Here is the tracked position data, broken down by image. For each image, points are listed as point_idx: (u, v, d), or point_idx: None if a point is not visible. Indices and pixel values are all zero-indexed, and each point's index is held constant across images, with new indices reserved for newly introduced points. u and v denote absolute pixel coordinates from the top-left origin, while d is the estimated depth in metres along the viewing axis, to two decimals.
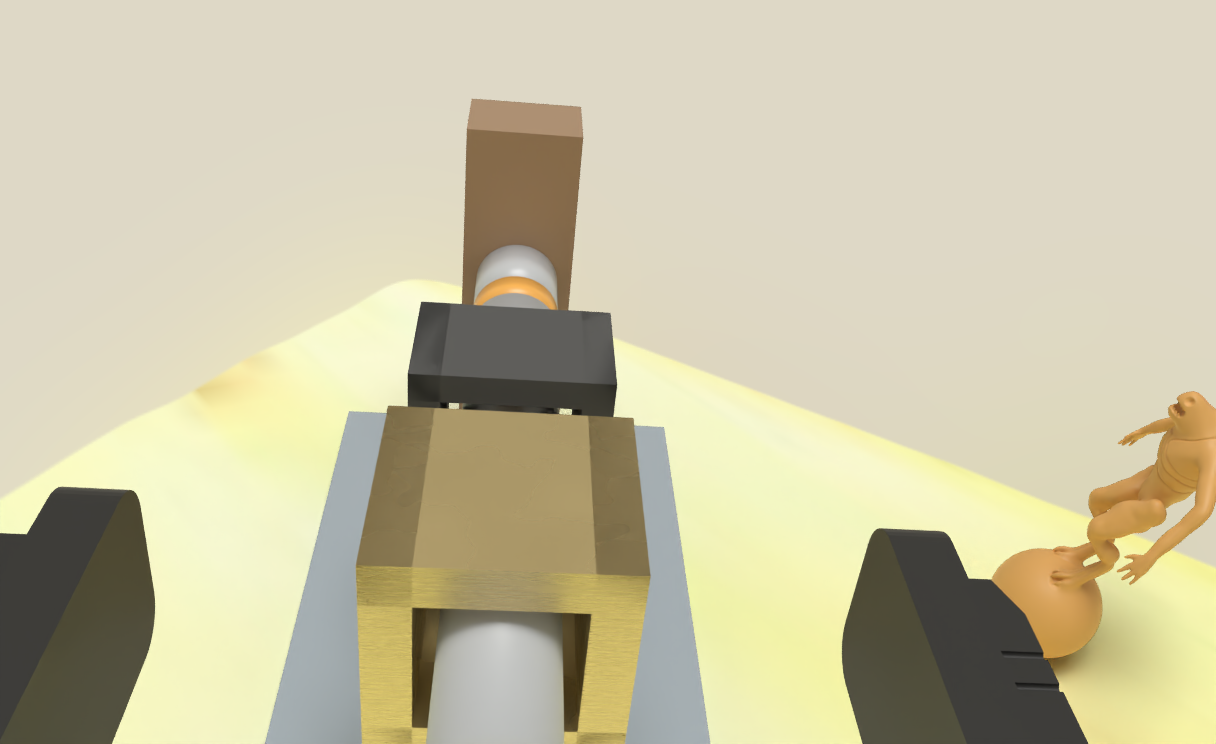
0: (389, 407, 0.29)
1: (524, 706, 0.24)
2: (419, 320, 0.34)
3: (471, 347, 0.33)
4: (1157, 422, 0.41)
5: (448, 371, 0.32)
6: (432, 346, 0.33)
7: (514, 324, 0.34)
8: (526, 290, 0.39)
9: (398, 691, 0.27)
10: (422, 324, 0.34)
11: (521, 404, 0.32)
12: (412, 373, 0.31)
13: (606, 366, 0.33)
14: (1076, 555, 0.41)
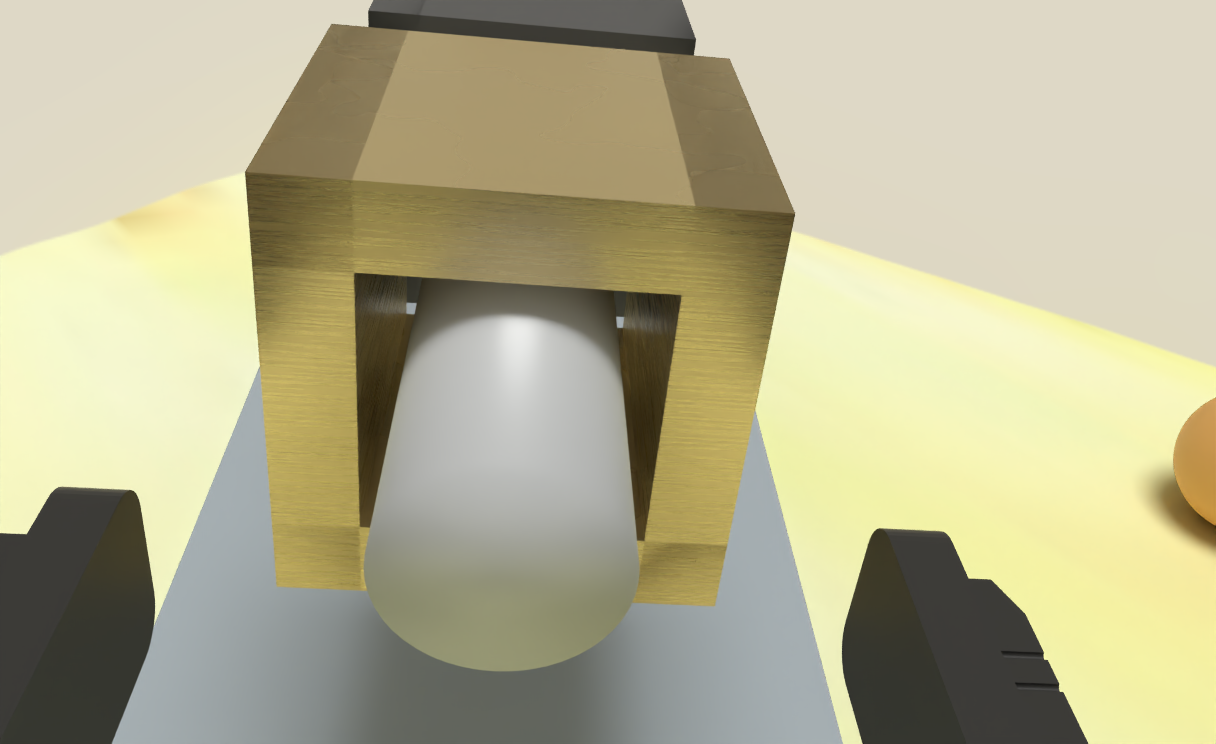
0: (333, 25, 0.18)
1: (564, 429, 0.12)
2: None
3: None
4: None
5: (432, 13, 0.20)
6: None
7: None
8: None
9: (334, 453, 0.15)
10: None
11: None
12: (375, 10, 0.20)
13: (677, 23, 0.21)
14: None
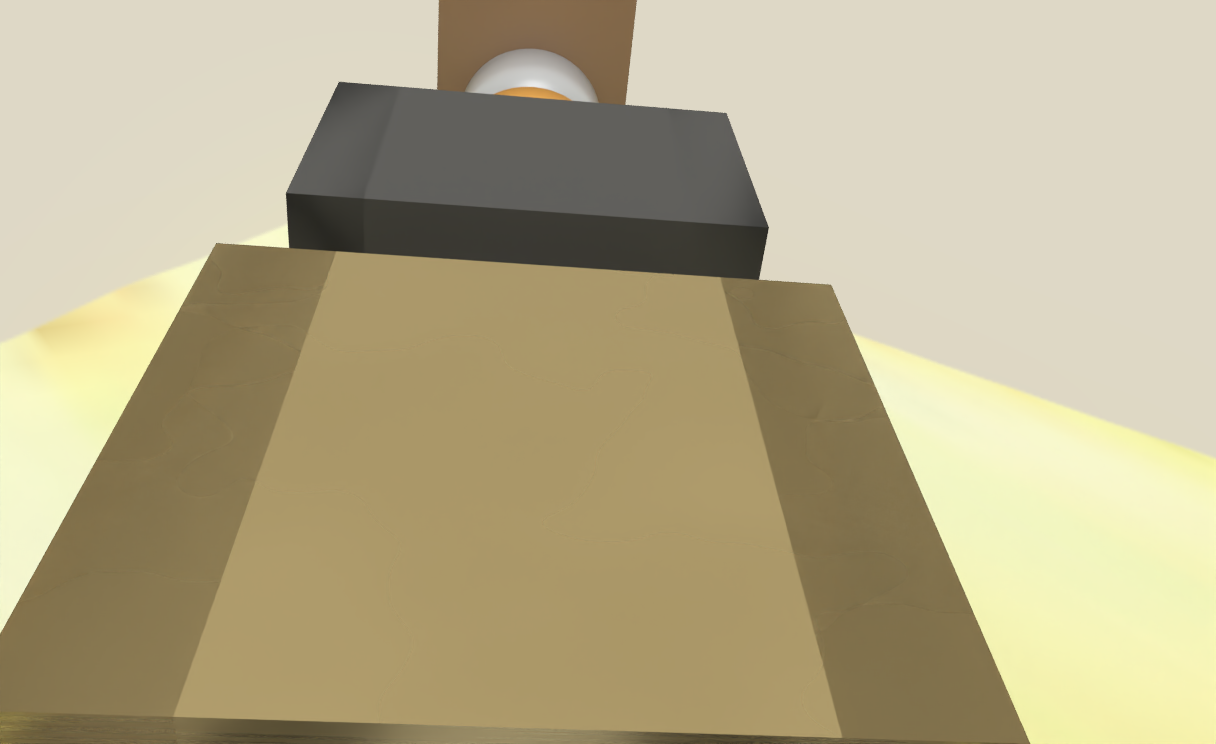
0: (218, 247, 0.12)
1: None
2: (330, 108, 0.16)
3: (438, 154, 0.15)
4: None
5: (382, 192, 0.14)
6: (352, 149, 0.15)
7: (532, 121, 0.16)
8: None
9: None
10: (335, 114, 0.16)
11: None
12: (297, 193, 0.13)
13: (737, 195, 0.15)
14: None
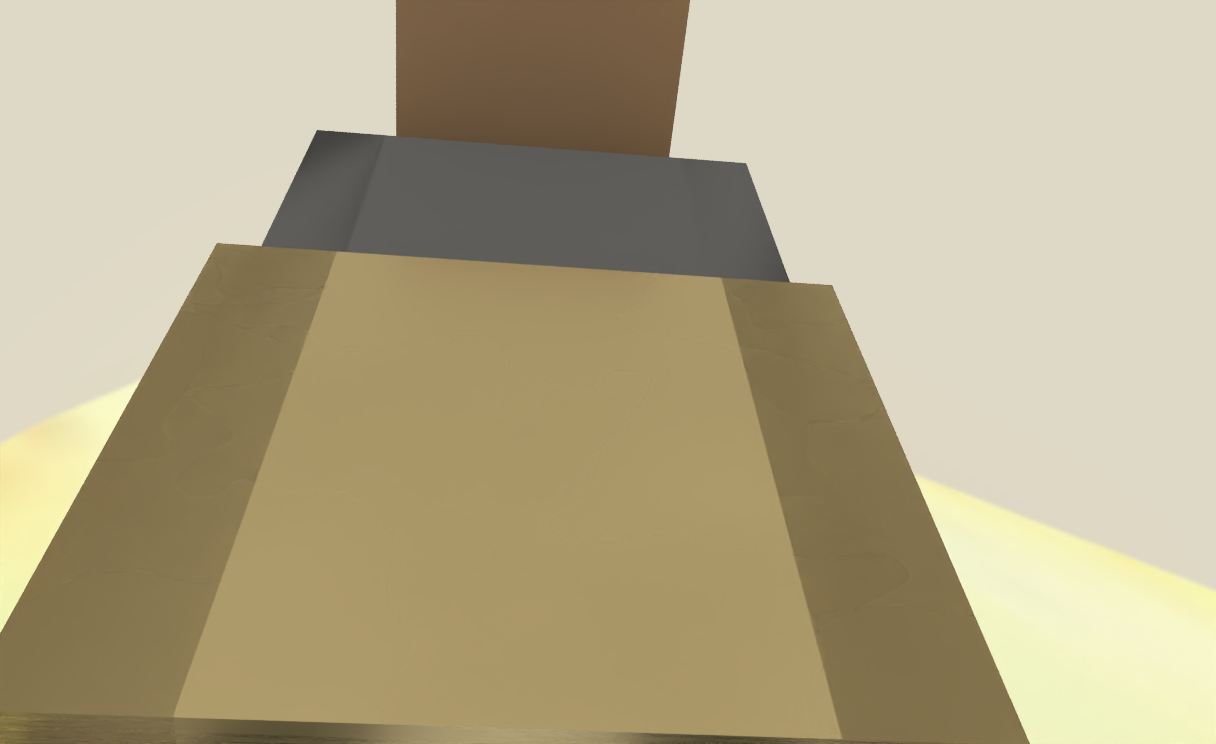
0: (219, 247, 0.12)
1: None
2: (305, 163, 0.14)
3: (425, 218, 0.13)
4: None
5: None
6: (328, 213, 0.13)
7: (530, 177, 0.14)
8: None
9: None
10: (311, 170, 0.14)
11: None
12: None
13: (762, 265, 0.13)
14: None
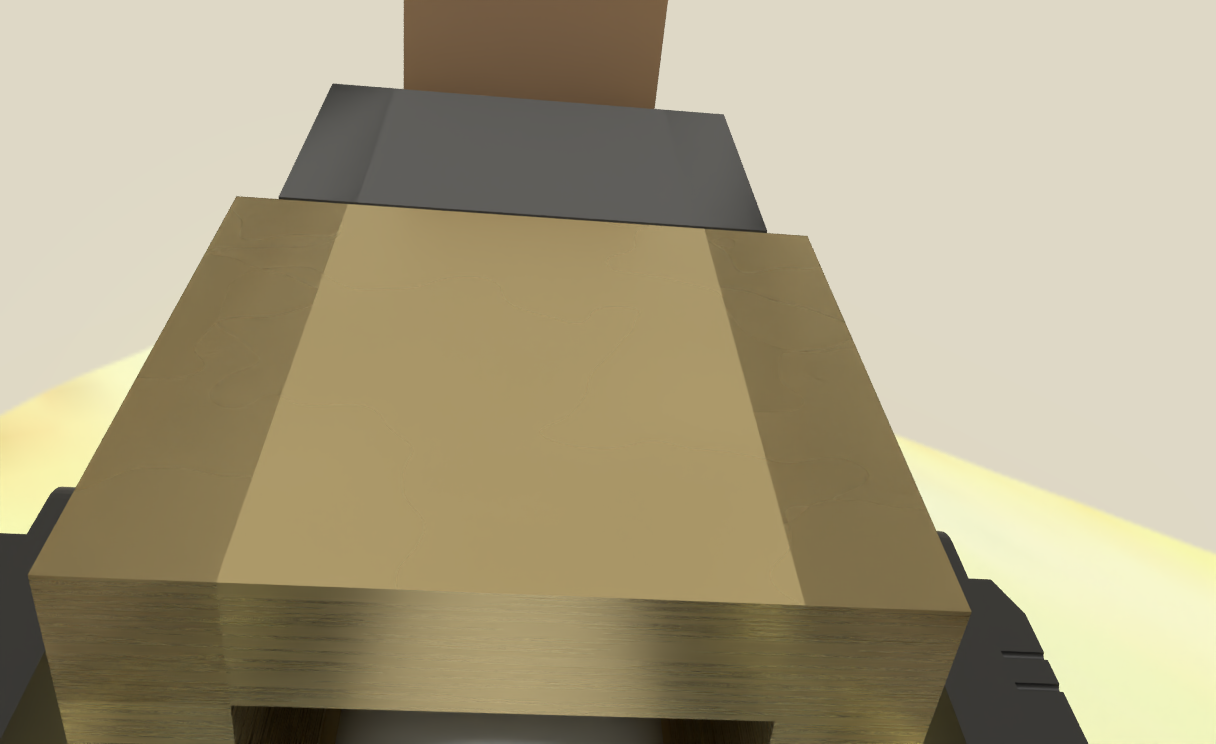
0: (238, 199, 0.12)
1: None
2: (323, 110, 0.16)
3: (433, 156, 0.15)
4: None
5: (376, 196, 0.14)
6: (346, 151, 0.15)
7: (526, 123, 0.16)
8: None
9: None
10: (329, 116, 0.15)
11: None
12: (290, 196, 0.13)
13: (735, 198, 0.15)
14: None
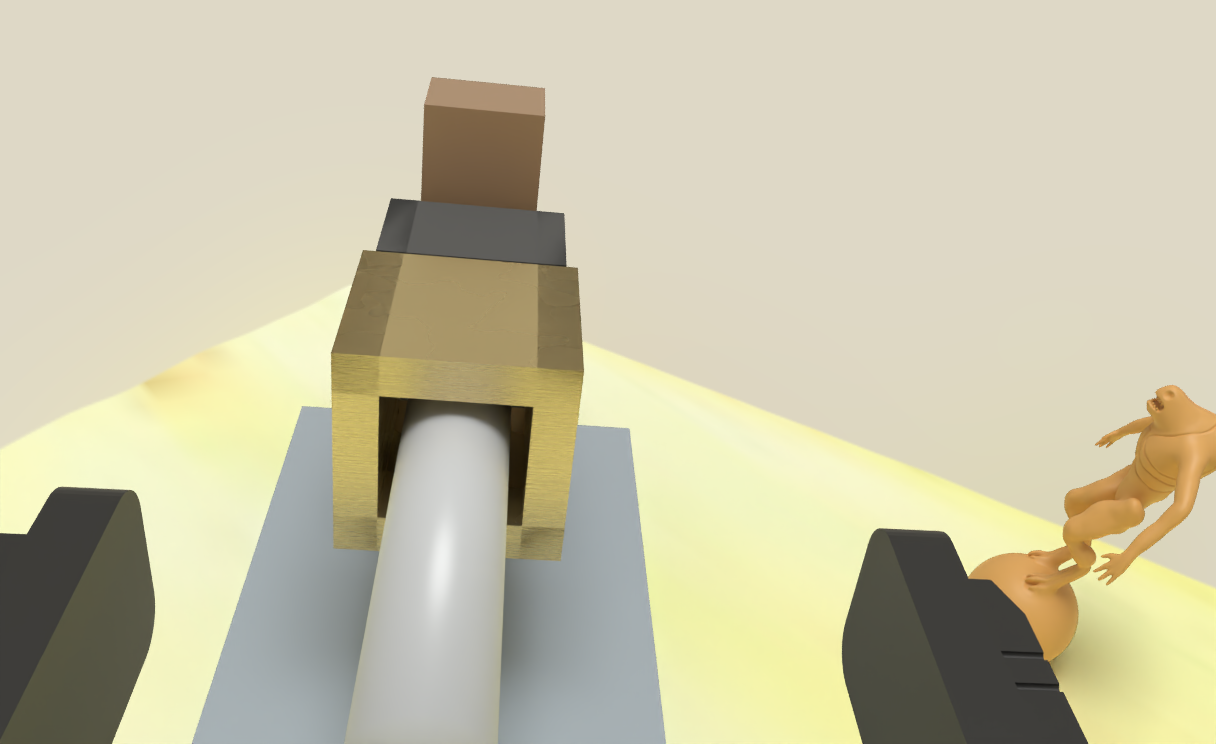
0: (364, 251, 0.34)
1: (454, 687, 0.22)
2: (388, 211, 0.37)
3: (435, 233, 0.36)
4: (1135, 422, 0.39)
5: (413, 250, 0.35)
6: (399, 231, 0.36)
7: (475, 218, 0.37)
8: None
9: (365, 480, 0.31)
10: (391, 214, 0.37)
11: None
12: (380, 249, 0.35)
13: (557, 252, 0.36)
14: (1051, 559, 0.40)
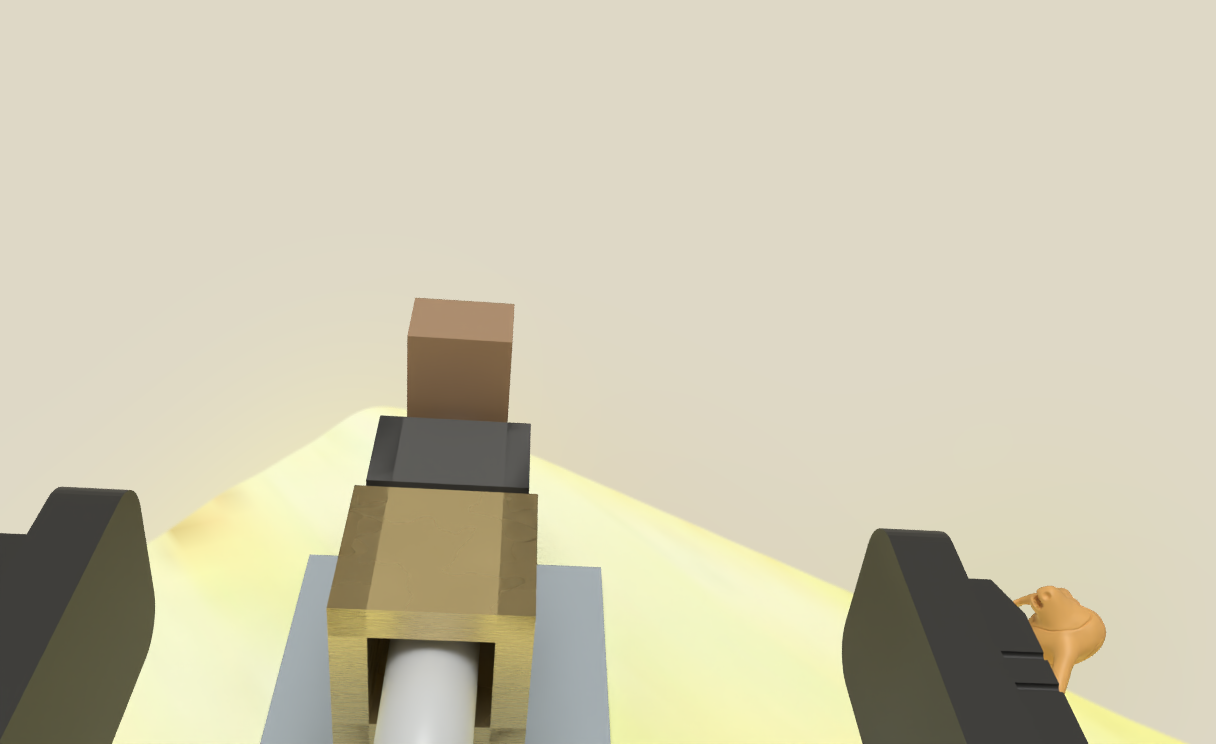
0: (355, 486, 0.40)
1: None
2: (377, 432, 0.43)
3: (417, 456, 0.42)
4: (1032, 596, 0.45)
5: (398, 477, 0.41)
6: (386, 455, 0.42)
7: (452, 435, 0.43)
8: None
9: (358, 697, 0.37)
10: (380, 436, 0.43)
11: None
12: (369, 479, 0.41)
13: (522, 471, 0.42)
14: None
